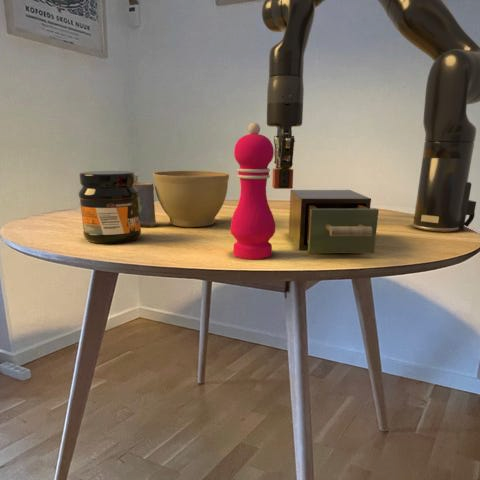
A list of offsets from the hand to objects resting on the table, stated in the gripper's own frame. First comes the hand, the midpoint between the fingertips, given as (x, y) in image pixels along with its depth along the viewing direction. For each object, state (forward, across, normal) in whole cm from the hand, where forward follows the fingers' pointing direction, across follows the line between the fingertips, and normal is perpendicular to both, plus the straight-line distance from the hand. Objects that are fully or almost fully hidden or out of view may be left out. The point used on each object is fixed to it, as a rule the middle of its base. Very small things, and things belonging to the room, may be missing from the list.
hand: (282, 186), depth 103 cm
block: (0, 0, 0) cm, 0 cm away
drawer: (+7, +31, +5) cm, 32 cm away
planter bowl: (+8, +2, -20) cm, 22 cm away
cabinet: (+8, +21, +5) cm, 23 cm away
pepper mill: (+8, +31, -9) cm, 34 cm away
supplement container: (+8, +18, -34) cm, 39 cm away
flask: (+8, +3, -32) cm, 33 cm away
